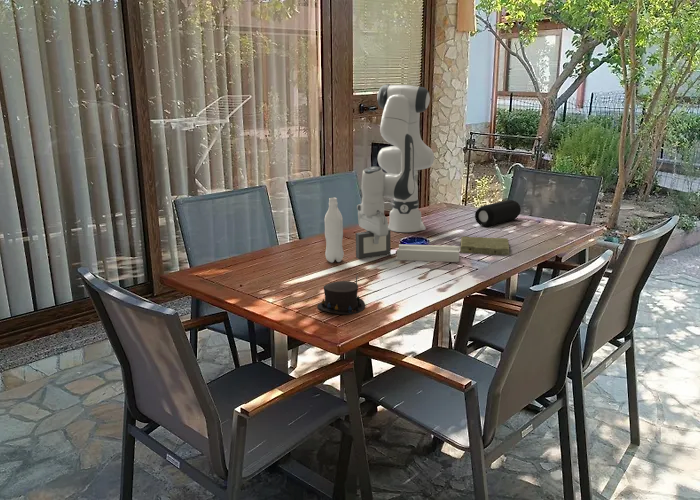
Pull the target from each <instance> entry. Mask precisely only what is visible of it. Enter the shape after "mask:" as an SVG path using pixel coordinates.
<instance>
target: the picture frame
mask: <svg viewBox="0 0 700 500" xmlns="http://www.w3.org/2000/svg"><path fill="white" fill-rule="evenodd" d="M373 239H374V233H372V232H370V231H368V232H366V231H362V232H355V258H356V259H358V260H365V259H370V258H376V257H382V256H383V257H384V256H389V255H391V251H392V250H391V244H392V243H391V230H389V229H388V235H387V236H380V238H379V243H378V244H374V243H373Z"/></svg>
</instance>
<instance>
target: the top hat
mask: <svg viewBox="0 0 700 500" xmlns="http://www.w3.org/2000/svg"><path fill="white" fill-rule="evenodd" d="M358 277H359V275H358V274H356V277H355V282H353V281H349V280H340V281H333V282H329V283H326V284H325V285H323V293H324V298H323V299H322V301H321V302H320V303H318V304H317V306H316V307H317V309H319V310H321V311H324V312H327V313H330V314H331V313H332V314H336V315H346V316H348V315H349V316H351V315H352V316H353V315H356V314H359V313H361V312H363V311H364V310H365V308H366V303H365V301H364V300H363V299H362V298H360V296H359V295H358V291H359V285H358Z"/></svg>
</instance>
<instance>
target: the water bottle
mask: <svg viewBox="0 0 700 500" xmlns="http://www.w3.org/2000/svg"><path fill="white" fill-rule="evenodd" d="M328 200H329V201H328V208H327V209H328V210H327V211H326V213H325V216H324V219H323V221H324V237H325V242H326V243H325V244H326V245H325V246H326V248H325V253H324V254H325V255H324V256H325V258H326V259H325V260H327V262H329V263H334V262H335V261H336V262H337V263H340V262H341V261H342V260H343V258H344V255H345V254H344V248H343V237H344V229H343V228H344V226H343V221H344V218H343V215H342V212H341V211H340V209H339V208H338V207H339V206H338V204H339V203H338V198H337V197H329V198H328Z"/></svg>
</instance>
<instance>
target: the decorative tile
mask: <svg viewBox="0 0 700 500" xmlns="http://www.w3.org/2000/svg"><path fill="white" fill-rule="evenodd" d="M509 244H510V242H509V238H504V237H503V238H502V237H482V236H481V237H480V236H478V237H477V236H474V237H473V236H461V238H460V245H459V246H460V247H459V253H462V254H482V255H497V256H498V255H499V256H500V255H501V256H502V255H503V256H510V245H509Z"/></svg>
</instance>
